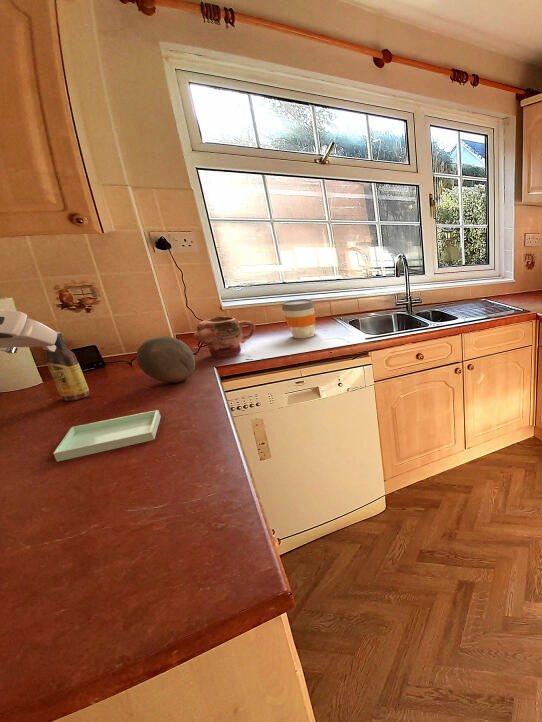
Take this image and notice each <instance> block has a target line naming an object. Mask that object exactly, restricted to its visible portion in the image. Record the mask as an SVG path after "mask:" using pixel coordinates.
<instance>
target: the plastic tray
mask: <svg viewBox="0 0 542 722" xmlns="http://www.w3.org/2000/svg"><path fill="white" fill-rule="evenodd" d="M161 418H162V417H161V414H160V410H159V409H155V410H151V411H147V412H140V413H136V414H131V415H125V416H121V417H115V418H110V419H105V420H100V421H96V422H90V423H85V424H81V425H75V426H71V427H70V429H69V430H68V431H67V433H66V434H65V436H64V437H63V438H62V440H61V442H60V443H59V444H58V446H57V447H56V448H55V450H54V451H53V453H52V454H53V456H54V459H55V461H56V463H58V462H62V461H67V460H71V459H75V458H76V459H77V458H81V457H84V456H88V455H92V454H98V453H101V452H106V451H110V450H116V449H119V448H124V447H129V446H133V445H137V444H142V443H146V442H150V441H155V439H156V435H157V432H158V429H159V425H160V421H161Z"/></svg>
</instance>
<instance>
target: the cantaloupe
mask: <svg viewBox="0 0 542 722" xmlns="http://www.w3.org/2000/svg"><path fill="white" fill-rule="evenodd" d="M136 363H137V365H138V367H139V368H140V369H141V371H143V373H144V374H146V375H147V376H148V377H150V378H153V379H155V380H157V381H159V382H164V383H171V384H172V383H181V382H184V381H185V380H187V379H188V378H189V377H192V376H193V374H194V372H195V370H196V359H195V355H194V352H193V351H192V349H191V348H190V347H189V346H188V345H187V344H186V343H185V342H184V341H182V340H181V339H178V338H177V337H176V338H175V337H172V336H161V337H160V336H159V337H154V338H153V337H152V338H149V339H147V340H145V341H144V342H143V343H142V344H141V345H140V346H139V347H138V349H137V350H136Z"/></svg>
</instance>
